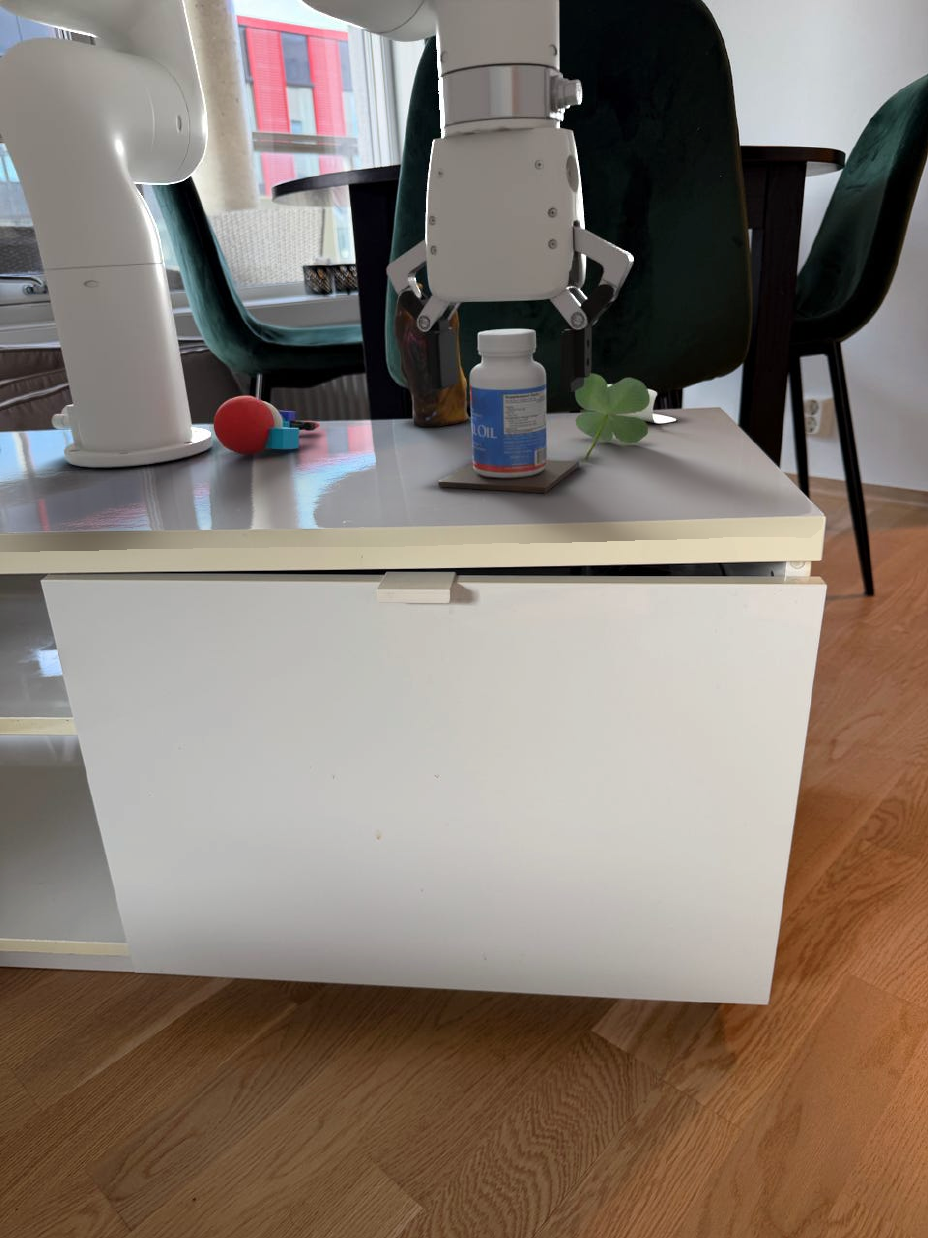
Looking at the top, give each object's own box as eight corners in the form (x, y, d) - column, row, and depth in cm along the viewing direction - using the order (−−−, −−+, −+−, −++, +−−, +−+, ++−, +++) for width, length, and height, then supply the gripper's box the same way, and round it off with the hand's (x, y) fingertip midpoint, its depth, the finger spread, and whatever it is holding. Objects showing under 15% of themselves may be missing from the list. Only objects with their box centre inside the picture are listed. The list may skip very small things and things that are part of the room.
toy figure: (254, 446, 87) (185, 453, 73) (254, 395, 86) (184, 392, 72) (328, 451, 86) (273, 459, 72) (329, 400, 85) (273, 397, 71)
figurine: (472, 413, 90) (464, 279, 85) (463, 426, 83) (454, 282, 79) (411, 416, 90) (400, 283, 86) (398, 428, 84) (385, 286, 79)
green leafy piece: (593, 510, 73) (618, 454, 76) (649, 465, 66) (675, 406, 69) (523, 461, 71) (551, 406, 74) (573, 410, 64) (602, 352, 67)
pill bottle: (462, 468, 66) (455, 331, 62) (527, 459, 68) (525, 325, 64) (490, 483, 61) (484, 336, 57) (559, 473, 63) (558, 330, 59)
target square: (438, 486, 63) (438, 481, 62) (481, 461, 69) (481, 456, 69) (545, 493, 60) (544, 487, 59) (579, 466, 66) (579, 461, 66)
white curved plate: (624, 409, 88) (625, 379, 86) (682, 419, 81) (683, 386, 80) (595, 415, 86) (595, 383, 85) (652, 425, 80) (653, 391, 78)
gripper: (649, 102, 55) (641, 381, 62) (405, 129, 62) (421, 379, 68) (619, 86, 49) (613, 399, 56) (350, 118, 56) (374, 394, 62)
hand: (507, 387), depth 62 cm, fingers open, 9 cm apart
